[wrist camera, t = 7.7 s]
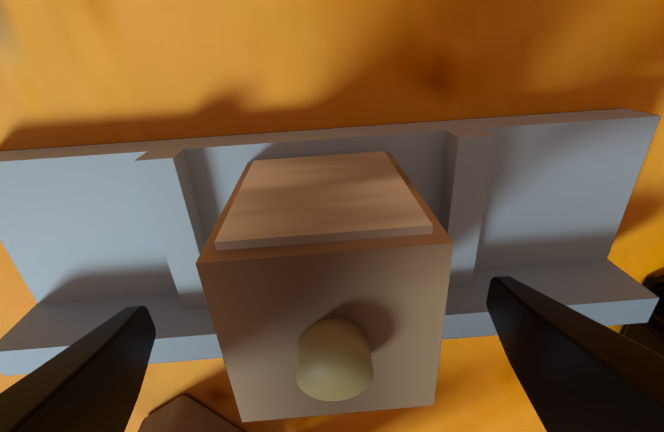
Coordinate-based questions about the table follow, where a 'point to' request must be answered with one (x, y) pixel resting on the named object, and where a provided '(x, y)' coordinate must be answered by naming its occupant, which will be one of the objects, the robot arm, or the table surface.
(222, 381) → the table surface
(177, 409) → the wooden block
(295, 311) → the cabinet block
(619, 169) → the grey slotted rack
